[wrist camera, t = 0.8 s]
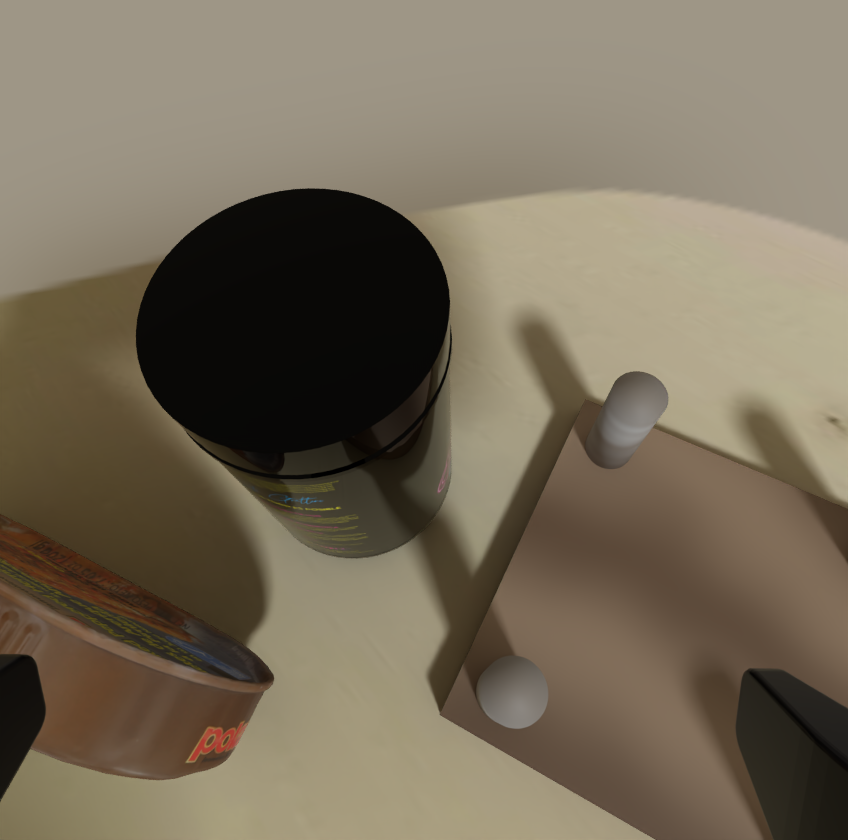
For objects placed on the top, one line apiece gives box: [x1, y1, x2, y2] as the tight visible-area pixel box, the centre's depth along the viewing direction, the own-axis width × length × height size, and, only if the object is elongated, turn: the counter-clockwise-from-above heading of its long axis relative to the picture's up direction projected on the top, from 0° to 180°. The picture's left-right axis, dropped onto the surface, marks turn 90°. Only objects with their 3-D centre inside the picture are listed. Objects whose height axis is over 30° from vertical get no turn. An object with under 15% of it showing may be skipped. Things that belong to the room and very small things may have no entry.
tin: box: [0, 515, 274, 780], centre depth 17 cm, size 15×3×8 cm, turn 65°
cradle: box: [440, 372, 848, 840], centre depth 17 cm, size 12×12×5 cm
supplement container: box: [136, 188, 452, 558], centre depth 18 cm, size 7×7×10 cm
